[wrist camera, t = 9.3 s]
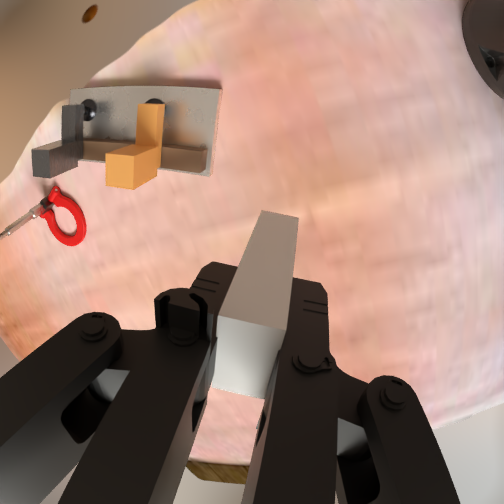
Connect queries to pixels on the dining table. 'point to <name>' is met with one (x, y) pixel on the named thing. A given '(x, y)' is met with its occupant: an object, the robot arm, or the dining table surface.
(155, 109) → the orange toy chair
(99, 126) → the bolt plate
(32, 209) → the tow hook
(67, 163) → the fixed leg
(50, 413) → the robot arm
